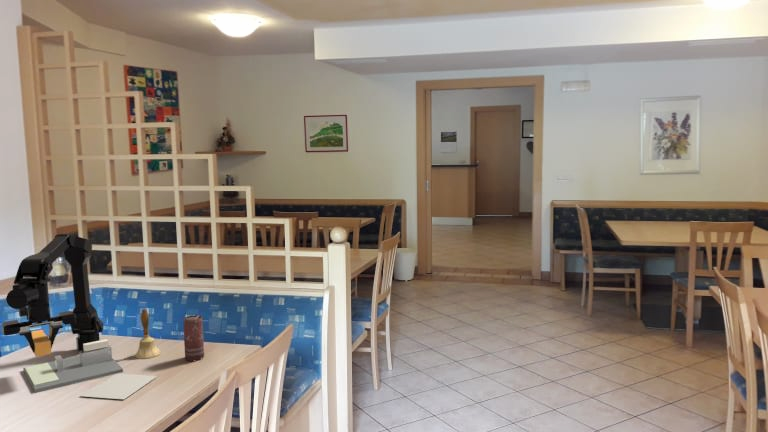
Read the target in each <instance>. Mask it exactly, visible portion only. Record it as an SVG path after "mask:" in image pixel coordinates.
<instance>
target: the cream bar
mask: <svg viewBox="0 0 768 432" xmlns="http://www.w3.org/2000/svg"><path fill="white" fill-rule="evenodd" d="M108 345H109V340H108V339H107V338H106V339H101V340H100V341H95V342H90V343H85V344H83V350H84V351H90V350H95V349H99V348H104V347H108Z"/></svg>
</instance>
